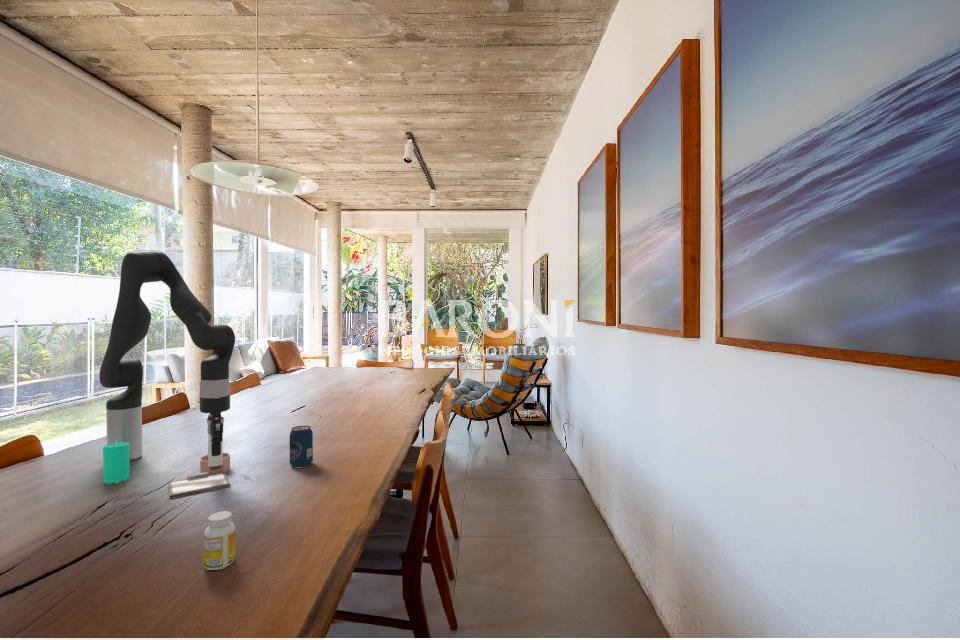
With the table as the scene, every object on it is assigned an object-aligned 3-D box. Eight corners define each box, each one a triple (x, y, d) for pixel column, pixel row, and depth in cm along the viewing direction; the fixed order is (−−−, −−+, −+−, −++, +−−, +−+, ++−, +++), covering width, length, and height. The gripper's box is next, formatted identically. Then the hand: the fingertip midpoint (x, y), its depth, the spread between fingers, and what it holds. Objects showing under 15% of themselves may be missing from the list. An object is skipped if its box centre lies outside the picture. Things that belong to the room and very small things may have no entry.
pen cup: (199, 469, 138) (199, 455, 138) (227, 464, 143) (227, 451, 143) (201, 477, 132) (201, 462, 132) (231, 471, 137) (231, 457, 137)
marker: (207, 467, 129) (206, 426, 128) (222, 464, 131) (221, 424, 131) (208, 471, 126) (208, 429, 125) (223, 468, 128) (223, 427, 128)
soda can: (284, 466, 141) (284, 429, 141) (301, 460, 148) (300, 424, 148) (301, 469, 139) (301, 431, 138) (317, 462, 145) (317, 426, 145)
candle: (114, 485, 126) (114, 442, 126) (97, 483, 127) (97, 441, 127) (135, 477, 132) (134, 437, 132) (118, 475, 133) (118, 435, 133)
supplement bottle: (209, 575, 83) (209, 525, 83) (199, 565, 87) (199, 516, 87) (240, 563, 88) (239, 514, 87) (229, 553, 91) (228, 507, 91)
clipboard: (168, 485, 126) (168, 479, 126) (224, 474, 134) (224, 468, 134) (169, 498, 117) (169, 491, 117) (229, 486, 126) (229, 480, 126)
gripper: (197, 391, 131) (197, 449, 132) (202, 400, 120) (202, 463, 120) (226, 389, 136) (226, 445, 136) (233, 397, 124) (233, 458, 125)
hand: (215, 453), depth 128 cm, fingers closed on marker, 3 cm apart
